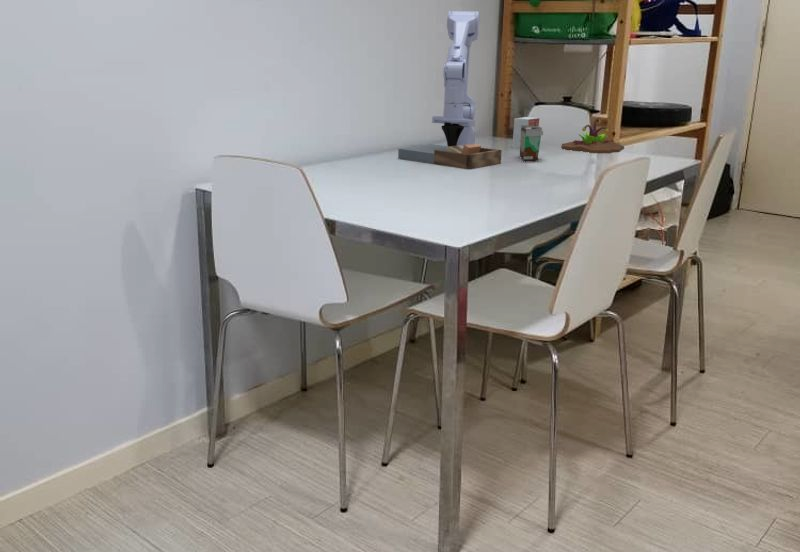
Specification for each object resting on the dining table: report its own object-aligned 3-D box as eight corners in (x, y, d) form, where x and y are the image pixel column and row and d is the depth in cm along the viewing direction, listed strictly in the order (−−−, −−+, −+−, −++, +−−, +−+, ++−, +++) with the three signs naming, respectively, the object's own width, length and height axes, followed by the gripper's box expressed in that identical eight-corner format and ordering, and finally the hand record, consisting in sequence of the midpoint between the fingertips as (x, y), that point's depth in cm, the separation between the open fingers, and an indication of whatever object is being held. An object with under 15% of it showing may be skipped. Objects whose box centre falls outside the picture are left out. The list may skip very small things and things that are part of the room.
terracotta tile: (476, 143, 237) (481, 146, 236) (470, 158, 239) (475, 161, 238) (464, 144, 233) (469, 147, 232) (459, 160, 235) (464, 163, 234)
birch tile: (458, 151, 242) (460, 145, 241) (470, 158, 239) (472, 152, 238) (446, 152, 237) (448, 146, 236) (458, 159, 235) (460, 153, 234)
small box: (526, 151, 267) (528, 119, 264) (511, 149, 270) (513, 118, 267) (537, 148, 273) (539, 117, 270) (523, 147, 276) (525, 116, 273)
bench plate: (430, 153, 255) (431, 144, 254) (465, 158, 247) (466, 148, 246) (398, 158, 244) (398, 148, 243) (433, 163, 235) (434, 153, 234)
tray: (465, 158, 247) (466, 145, 245) (500, 163, 239) (501, 150, 237) (433, 163, 235) (434, 150, 234) (469, 169, 227) (470, 155, 226)
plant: (632, 152, 272) (636, 119, 268) (607, 158, 257) (610, 123, 254) (579, 146, 284) (582, 114, 280) (552, 151, 269) (555, 118, 266)
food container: (544, 163, 242) (546, 129, 239) (523, 162, 242) (526, 129, 239) (538, 157, 253) (540, 125, 250) (518, 156, 253) (521, 124, 251)
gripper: (426, 102, 237) (424, 147, 241) (465, 105, 228) (463, 152, 232) (440, 101, 242) (439, 145, 246) (479, 104, 233) (477, 150, 237)
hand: (451, 149), depth 239 cm, fingers closed
